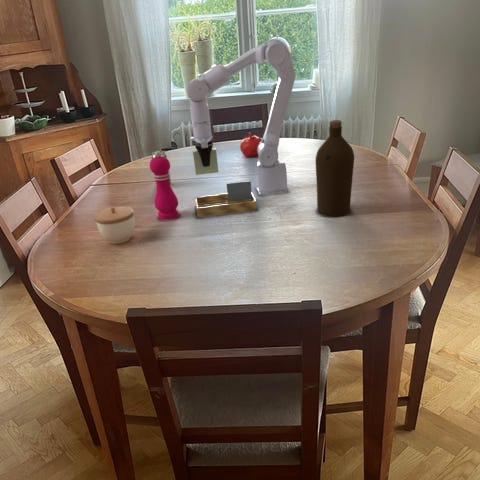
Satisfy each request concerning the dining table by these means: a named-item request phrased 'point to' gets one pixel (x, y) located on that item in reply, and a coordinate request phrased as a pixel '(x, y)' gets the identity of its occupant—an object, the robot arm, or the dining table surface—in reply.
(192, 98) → the robot arm
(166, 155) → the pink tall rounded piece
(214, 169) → the sage coaster
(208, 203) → the coaster basket
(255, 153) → the pomegranate
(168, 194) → the pepper mill
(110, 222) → the trinket box
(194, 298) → the dining table surface
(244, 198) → the blue coaster
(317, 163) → the olive oil
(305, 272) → the dining table surface
